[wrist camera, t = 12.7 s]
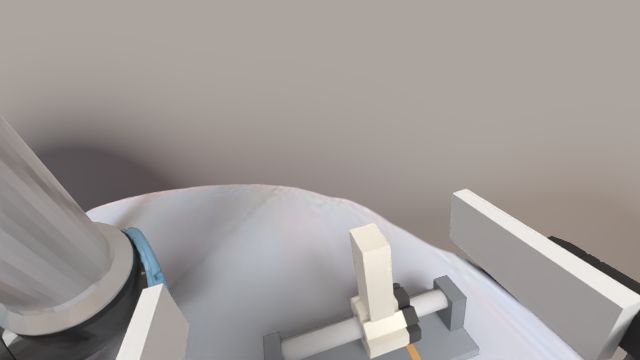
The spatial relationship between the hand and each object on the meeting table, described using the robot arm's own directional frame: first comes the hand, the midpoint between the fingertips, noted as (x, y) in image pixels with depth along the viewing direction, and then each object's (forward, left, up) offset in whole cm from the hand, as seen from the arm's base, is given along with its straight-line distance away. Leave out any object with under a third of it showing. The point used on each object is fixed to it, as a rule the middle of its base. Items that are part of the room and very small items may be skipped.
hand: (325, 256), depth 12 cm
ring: (+1, +16, -29) cm, 33 cm away
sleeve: (-2, +14, -29) cm, 32 cm away
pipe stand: (-3, +13, -31) cm, 34 cm away
